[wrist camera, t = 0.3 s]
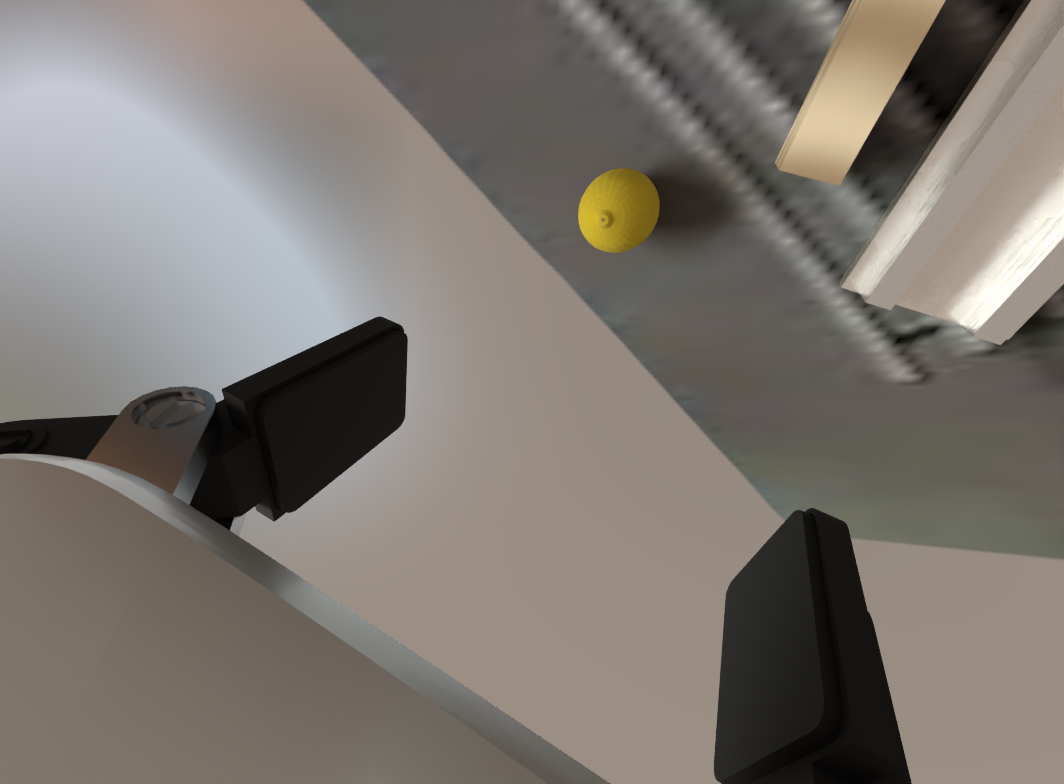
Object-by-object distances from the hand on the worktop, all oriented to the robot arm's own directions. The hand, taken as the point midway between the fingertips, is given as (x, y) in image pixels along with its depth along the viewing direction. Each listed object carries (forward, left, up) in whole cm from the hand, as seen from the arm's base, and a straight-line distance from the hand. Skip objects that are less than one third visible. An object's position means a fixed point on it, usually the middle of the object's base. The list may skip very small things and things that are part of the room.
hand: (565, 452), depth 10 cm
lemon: (0, -6, -29) cm, 30 cm away
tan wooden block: (-11, +4, -29) cm, 32 cm away
